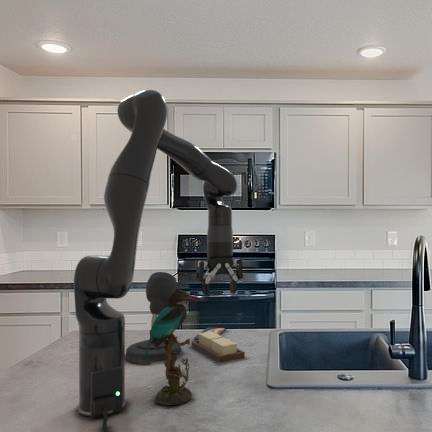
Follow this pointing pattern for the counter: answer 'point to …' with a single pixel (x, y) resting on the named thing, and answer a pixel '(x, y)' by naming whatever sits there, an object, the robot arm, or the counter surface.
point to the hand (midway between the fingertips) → (220, 294)
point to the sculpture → (160, 333)
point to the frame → (215, 356)
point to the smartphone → (215, 330)
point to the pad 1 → (207, 339)
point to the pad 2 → (223, 346)
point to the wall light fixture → (158, 297)
